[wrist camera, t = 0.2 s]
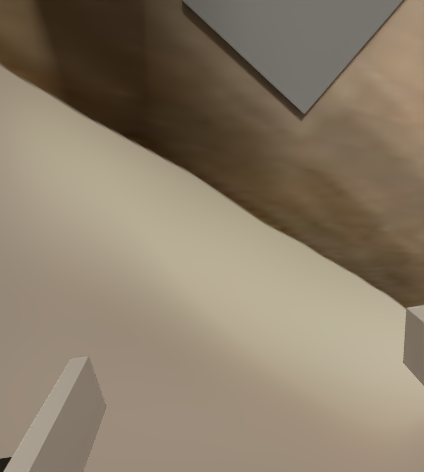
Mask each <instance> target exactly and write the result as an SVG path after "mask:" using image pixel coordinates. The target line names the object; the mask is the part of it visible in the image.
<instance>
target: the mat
mask: <svg viewBox="0 0 424 472" xmlns="http://www.w3.org/2000/svg"><path fill="white" fill-rule="evenodd" d="M182 1H183V2H184V3H185V4H186V5H187V6H188V7H189V8H190V9H192V10H193V11H194V12H195V13H196V14H197V15H198V16H199V17H200V18H201V19H202V20H203V21H204V22H205V23H207V24H208V25H209V26H210V27H211V28H212V29H213V30H214V31H215V32H216V33H217V34H218V35H219V36H220V37H222V38H223V39H224V40H225V41H226V42H227V43H228V44H229V45H230V46H231V47H232V48H233V49H234V50H235V51H237V52H238V53H239V54H240V55H241V56H242V57H243V58H244V59H245V60H246V61H247V62H248V63H249V64H250V65H252V66H253V67H254V68H255V69H256V70H257V71H258V72H259V73H260V74H261V75H262V76H263V77H264V78H265V79H267V80H268V81H269V82H270V83H271V84H272V85H273V86H274V87H275V88H276V89H277V90H278V91H279V92H281V93H282V94H283V95H284V96H285V97H286V98H287V99H288V100H289V101H290V102H291V103H292V104H293V105H294V106H296V107H297V108H298V109H299V110H300V111H301V112H302V113H303V114H305V113H306V112H307V111H308V110H309V109H310V107H311V106H312V105H313V104H314V103H315V102H316V100H317V99H318V98H319V97H320V96H321V95H322V93H323V92H324V91H325V90H326V89H327V88H328V87H329V85H330V84H331V83H332V82H333V81H334V80H335V78H336V77H337V76H338V75H339V74H340V73H341V71H342V70H343V69H344V68H345V67H346V66H347V64H348V63H349V62H350V61H351V60H352V59H353V57H354V56H355V55H356V54H357V53H358V52H359V51H360V49H361V48H362V47H363V46H364V45H365V44H366V42H367V41H368V40H369V39H370V38H371V37H372V35H373V34H374V33H375V32H376V31H377V30H378V28H379V27H380V26H381V25H382V24H383V23H384V22H385V20H386V19H387V18H388V17H389V16H390V15H391V13H392V12H393V11H394V10H395V9H396V8H397V6H398V5H399V4H400V3H401V2H402V1H403V0H182Z"/></svg>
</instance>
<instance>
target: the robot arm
mask: <svg viewBox="0 0 424 472" xmlns="http://www.w3.org/2000/svg"><path fill="white" fill-rule="evenodd" d="M404 342H405V343H404V358H403V359H404V360H403V363H404V364H405V365H406V366H407V367H408V369H409V370H410V371H411V372H412V373H413V374H414V375H415V376H416V378H417V379H418V380H419V381H420V382H421V383H422V384H423V385H424V305H423V306H416V307H410V308H406V325H405V341H404ZM105 409H106V404H105V402H104V399H103V396H102V393H101V390H100V387H99V384H98V381H97V378H96V375H95V373H94V370H93V367H92V364H91V361H90V358H89V356H85V357H78V358H72V359H70V360H69V362H68V364H67V365H66V367H65V369H64V371H63V372H62V374H61V376H60V377H59V379H58V381H57V382H56V384H55V386H54V387H53V389H52V391H51V392H50V394H49V396H48V398H47V399H46V401H45V403H44V404H43V406H42V408H41V410H40V411H39V413H38V414H37V416H36V418H35V419H34V421H33V423H32V425H31V426H30V428H29V430H28V431H27V433H26V435H25V436H24V438H23V440H22V441H21V443H20V445H19V447H18V448H17V450H16V451H15V453H14V455H13V457H9V458H2V459H0V472H83V471H84V468H85V465H86V462H87V459H88V457H89V454H90V451H91V448H92V446H93V443H94V440H95V437H96V434H97V431H98V429H99V426H100V423H101V420H102V417H103V414H104V412H105Z"/></svg>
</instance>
